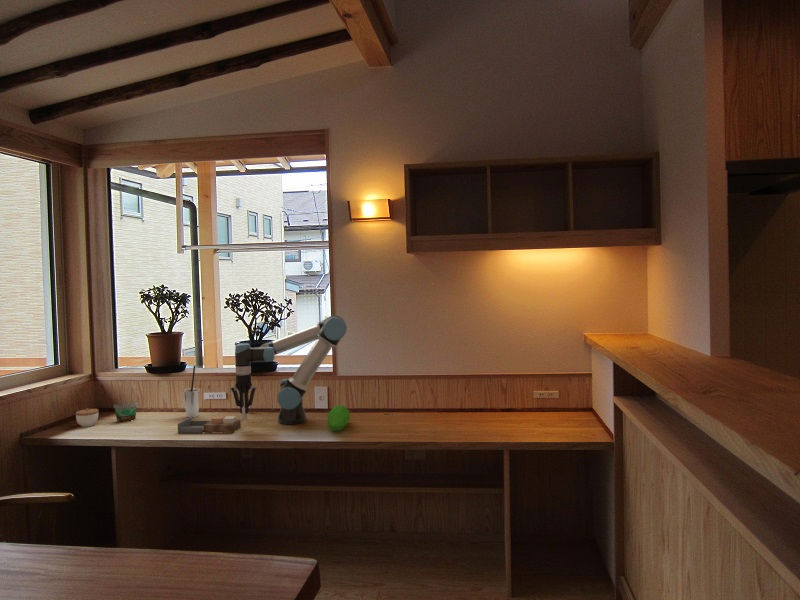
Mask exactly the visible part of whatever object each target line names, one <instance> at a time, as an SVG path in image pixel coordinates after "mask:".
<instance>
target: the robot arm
mask: <svg viewBox="0 0 800 600" xmlns="http://www.w3.org/2000/svg"><path fill="white" fill-rule="evenodd" d="M347 329H348V327H347V323H346V322H345V320H344V318H342V317H341V316H339V315H330V316H329V317H327V318H325V319H322V320H320V321H318V322H317V324H315V325H312V326H310V327H307V328H304V329H302V330H299V331H296V332H294V333H290V334H288V335H286V336H283V337H280V338H278V339H275V340H272V341H270V342H266V343H263V344H261V345H260V346H257V347H251V344H250V343H238V344H236V345H235V347H234V349H235V350H234V359H235V360H234V362H235V374H236V375H235V384H234V386H233V387H231V388H230V390H231V392H232V394H233V398H234V401H235V406H236V407H239V411H240V413H239V414H241V421H246V420H247V419H248V414H249V411H250V410H249V407H251V406H252V405H253V402H254V397H255V392H256V391H257V386H253V383H252V374H251V373H252V366H251V364H252V363H265V362H266V363H268V362H270V363H271V362H274V360H275V358H276V356H277V355H279V354H282V353H285V352H287V351H290V350H292V349H295V348H298V347H301V346H303V345H305V344H309V343H312V342H314V341H315V342H314V343H313V346H311V348H310V350H309V352H308V353H307V354H306V356H305V357H304V359H303V360H302V362H301V363H300V365H299V367H298V368H297V370H296V371H295V373H294V374H293V375H292V376H291V377H288V378H283V379H281V380H280V382H279V386H280V387H279V388H280V389H279V391H278V392H277V393H278V394H277V396H276V398H277V403H278V405H279V406H280V409H279V413H278V415H277V416H278V417H277V422H278V424H281V425H296V424H297V425H298V424H301V423H305V422H306V421H307V414H306V411H305V409H304V406H303V404H304V403H303V401H304V400H303V397H304V395H306V393H307V391H308V384H309V383H310V382H311V380H312V378H313V377H314V375H315V374H316V372H317V371H318V369H319V368H320V367H321V364H322V363H323V362H324V361H325V359H326V357H327V355H328V354H329V353H330V350H332V348H333V347H334V348H336V347H337V346H338V344H339V343H340V341H341V339H343V338H344V337H345V335H346V333H347V331H348V330H347ZM250 390H251V391H250ZM249 391H250V392H249ZM249 394H250V395H249Z"/></svg>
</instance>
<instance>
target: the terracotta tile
mask: <svg viewBox="0 0 800 600" xmlns="http://www.w3.org/2000/svg"><path fill="white" fill-rule="evenodd" d="M225 417H226V416H224V415H216V416H214V417H212V418H211V420H212V424H221V423H223V418H225Z"/></svg>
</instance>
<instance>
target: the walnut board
mask: <svg viewBox="0 0 800 600" xmlns="http://www.w3.org/2000/svg"><path fill="white" fill-rule="evenodd" d="M208 421H209V422H208V423H206V424H204V425H203V426H204V432H223V433H222V434H225V433H224V432H227V433H226V434H233V433H235V432H236V431H237V430H239V429H240V428H241V427H242V426H241V425H242V422H241V421H242V419H241V418H239V419H237V418H236V422H234V423H233V424H223V423H221V424H212V419H211V420H208ZM238 428H239V429H238ZM235 430H236V431H235ZM234 431H235V432H234Z"/></svg>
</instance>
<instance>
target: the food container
mask: <svg viewBox="0 0 800 600" xmlns="http://www.w3.org/2000/svg"><path fill="white" fill-rule="evenodd" d="M138 405H139V403H138V401H137V400H136V401H135V402H125V403H121V404H118V403H117V404H115V403H114V404H113V409H114V410H115V411H114V412H115V417H116V422H118V423H127V421H129V422H132V421H131V420H133V421H135V420H136V417H137V406H138ZM134 419H135V420H134Z"/></svg>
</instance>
